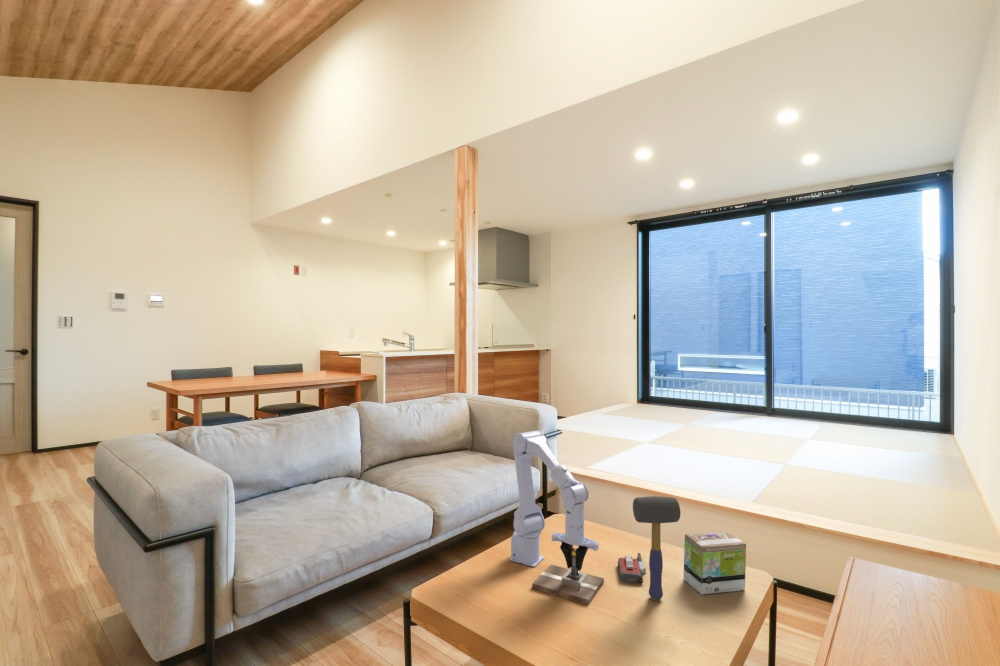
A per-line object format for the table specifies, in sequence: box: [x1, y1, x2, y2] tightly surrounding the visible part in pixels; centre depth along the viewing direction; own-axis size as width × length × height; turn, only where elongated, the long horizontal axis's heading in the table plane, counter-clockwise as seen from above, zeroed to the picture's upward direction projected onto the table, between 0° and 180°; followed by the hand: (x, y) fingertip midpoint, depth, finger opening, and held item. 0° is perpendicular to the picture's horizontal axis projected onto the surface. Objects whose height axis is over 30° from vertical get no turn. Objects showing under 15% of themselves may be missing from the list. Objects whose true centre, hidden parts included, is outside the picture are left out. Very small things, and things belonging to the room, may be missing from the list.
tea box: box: [683, 530, 747, 596], centre depth 151 cm, size 15×10×15 cm, turn 102°
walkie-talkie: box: [617, 552, 647, 585], centre depth 161 cm, size 9×4×20 cm
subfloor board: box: [531, 564, 605, 606], centre depth 150 cm, size 18×14×2 cm
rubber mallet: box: [632, 495, 681, 602], centre depth 143 cm, size 12×8×30 cm, turn 91°
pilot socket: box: [562, 569, 588, 590], centre depth 149 cm, size 6×6×2 cm
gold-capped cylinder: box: [570, 547, 580, 576], centre depth 150 cm, size 3×3×8 cm
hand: (574, 568), depth 149 cm, fingers closed on gold-capped cylinder, 3 cm apart
